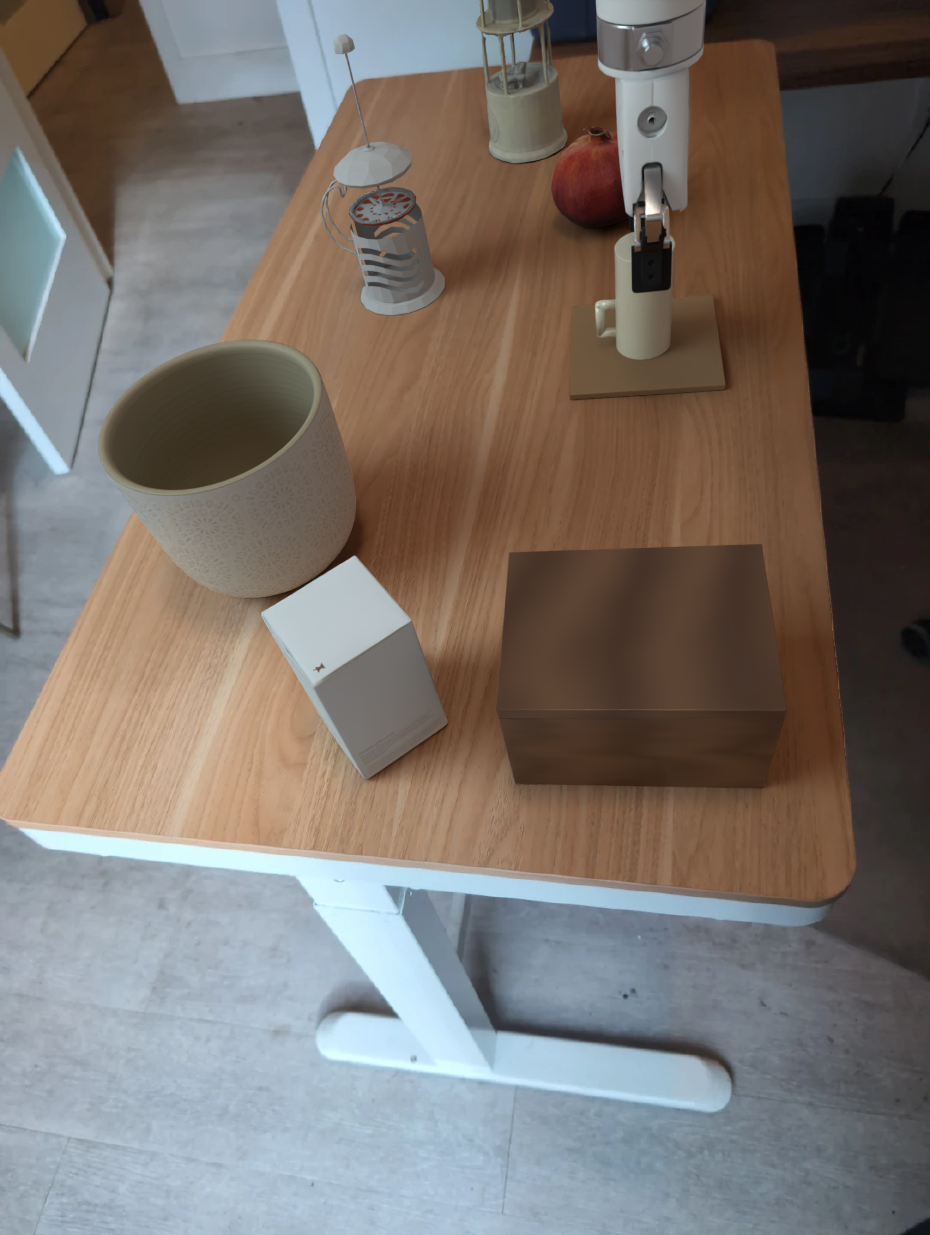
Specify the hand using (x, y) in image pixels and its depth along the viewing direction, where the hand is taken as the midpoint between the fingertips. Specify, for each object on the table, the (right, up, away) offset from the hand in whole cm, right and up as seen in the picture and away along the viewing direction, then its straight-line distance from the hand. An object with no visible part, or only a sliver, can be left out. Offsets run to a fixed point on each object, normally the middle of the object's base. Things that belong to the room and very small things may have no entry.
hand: (649, 258), depth 73 cm
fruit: (0, +14, +23) cm, 27 cm away
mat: (+1, -5, +8) cm, 10 cm away
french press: (-24, +5, +21) cm, 32 cm away
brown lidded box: (-4, -38, -15) cm, 41 cm away
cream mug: (+1, -5, +7) cm, 9 cm away
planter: (-32, -25, 0) cm, 41 cm away
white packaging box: (-22, -39, -12) cm, 46 cm away
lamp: (-7, +32, +37) cm, 49 cm away
